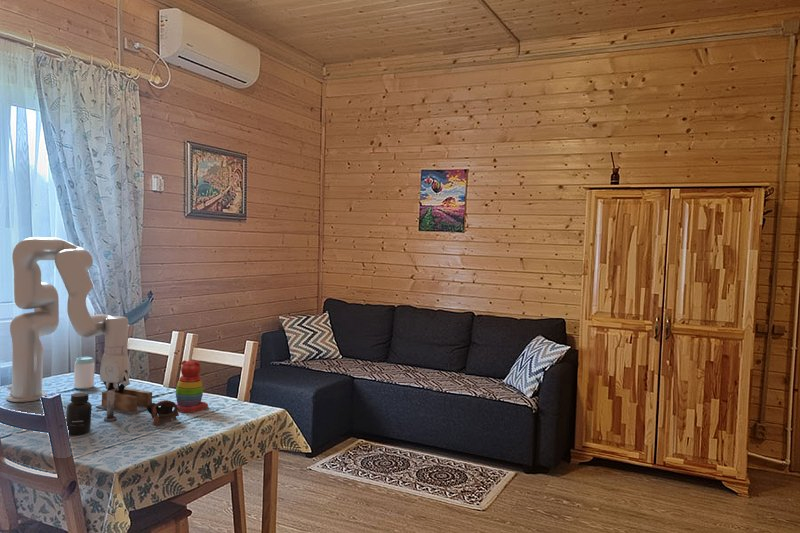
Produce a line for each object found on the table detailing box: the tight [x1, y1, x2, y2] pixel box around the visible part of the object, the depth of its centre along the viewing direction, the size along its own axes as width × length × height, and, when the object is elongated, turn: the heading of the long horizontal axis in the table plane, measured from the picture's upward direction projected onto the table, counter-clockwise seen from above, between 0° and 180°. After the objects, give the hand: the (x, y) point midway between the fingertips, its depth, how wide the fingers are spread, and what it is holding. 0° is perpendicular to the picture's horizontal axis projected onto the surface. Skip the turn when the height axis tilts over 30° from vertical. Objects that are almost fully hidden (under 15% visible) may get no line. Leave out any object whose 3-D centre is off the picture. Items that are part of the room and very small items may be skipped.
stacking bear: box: [175, 360, 209, 413], centre depth 214 cm, size 11×10×18 cm
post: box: [103, 390, 117, 422], centre depth 197 cm, size 4×4×10 cm
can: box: [73, 356, 95, 390], centre depth 236 cm, size 7×7×12 cm
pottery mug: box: [146, 400, 180, 427], centre depth 198 cm, size 12×10×8 cm
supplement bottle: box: [65, 392, 92, 437], centre depth 184 cm, size 7×7×12 cm
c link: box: [101, 386, 153, 412], centre depth 212 cm, size 14×9×5 cm, turn 68°
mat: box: [95, 404, 148, 416], centre depth 213 cm, size 17×12×1 cm
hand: (114, 399), depth 215 cm, fingers open, 3 cm apart
